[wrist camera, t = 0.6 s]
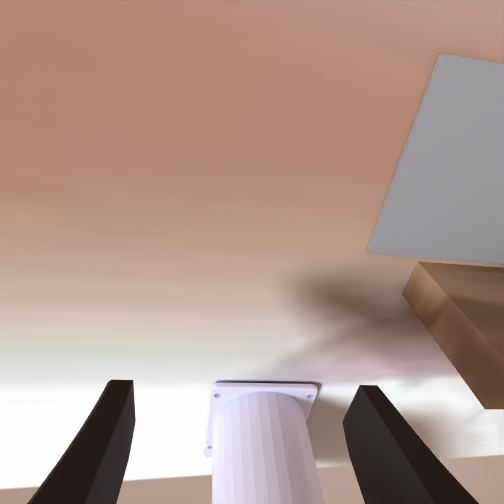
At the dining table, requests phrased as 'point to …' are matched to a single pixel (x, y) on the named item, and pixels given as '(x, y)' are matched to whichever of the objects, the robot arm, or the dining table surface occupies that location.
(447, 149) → the mat
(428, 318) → the walnut slab
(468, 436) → the dining table surface
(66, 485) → the robot arm
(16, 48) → the dining table surface
